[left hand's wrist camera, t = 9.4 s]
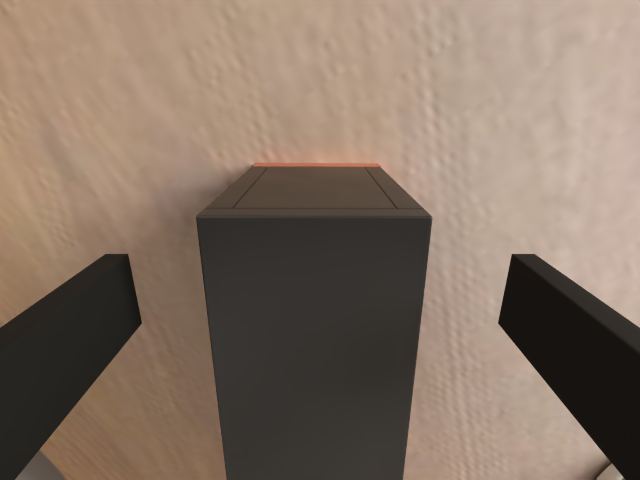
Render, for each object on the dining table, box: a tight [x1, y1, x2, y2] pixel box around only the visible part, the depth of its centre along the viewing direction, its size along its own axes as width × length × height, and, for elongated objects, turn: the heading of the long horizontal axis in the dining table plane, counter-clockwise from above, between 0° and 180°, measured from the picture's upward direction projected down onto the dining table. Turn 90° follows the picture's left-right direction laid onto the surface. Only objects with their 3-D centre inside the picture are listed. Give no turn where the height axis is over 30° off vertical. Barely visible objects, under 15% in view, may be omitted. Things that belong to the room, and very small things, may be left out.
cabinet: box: [196, 163, 432, 480], centre depth 18 cm, size 16×7×11 cm, turn 0°
